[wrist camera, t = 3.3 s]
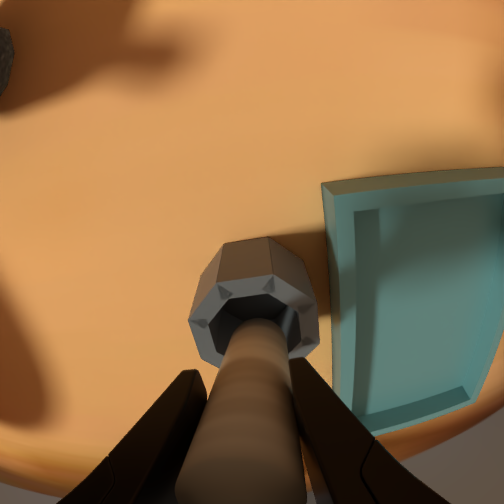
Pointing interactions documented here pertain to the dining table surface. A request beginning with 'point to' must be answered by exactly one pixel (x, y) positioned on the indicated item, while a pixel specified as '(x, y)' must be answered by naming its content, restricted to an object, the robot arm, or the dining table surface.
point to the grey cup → (254, 298)
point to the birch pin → (247, 427)
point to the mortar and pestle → (5, 57)
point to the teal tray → (414, 291)
